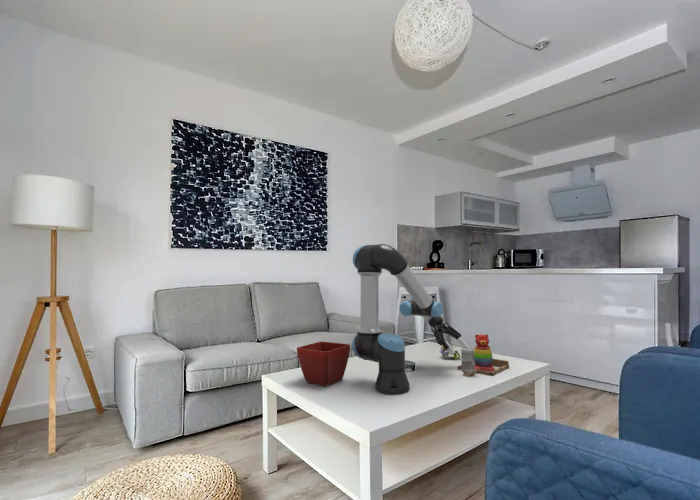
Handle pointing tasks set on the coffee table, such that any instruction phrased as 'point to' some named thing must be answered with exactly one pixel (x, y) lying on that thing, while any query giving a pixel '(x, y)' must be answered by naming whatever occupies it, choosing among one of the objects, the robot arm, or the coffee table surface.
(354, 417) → the coffee table surface
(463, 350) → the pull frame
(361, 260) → the robot arm
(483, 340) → the stacking bear
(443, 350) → the passion flower
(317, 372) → the plant pot
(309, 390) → the coffee table surface
